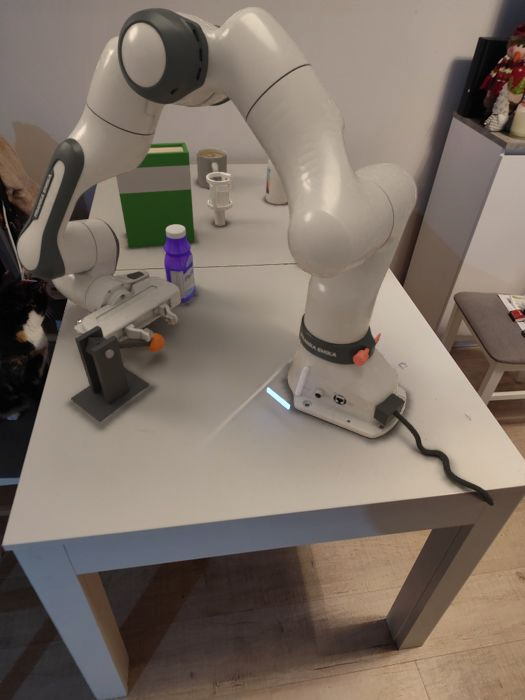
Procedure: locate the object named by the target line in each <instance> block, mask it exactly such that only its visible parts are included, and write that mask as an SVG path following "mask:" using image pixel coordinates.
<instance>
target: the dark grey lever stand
mask: <svg viewBox="0 0 525 700" xmlns="http://www.w3.org/2000/svg"><path fill="white" fill-rule="evenodd" d="M89 337H104V336H103V332H102V329H101V327H99V326H96V327H94V328H92V329H91V330H89V331H87V332H85V333H84V334H82V335H80V334H79V335H78V336H77V337H75V338H74V340H75V344H76V346H77V350H78V353H79V357H80V360H81V362H82V365H83V369H84V371H85V375H86V377H87V381H88V384H89V385H88V386H86V388H83V390H81V391H79V392H78V393H76V394H75V395H73V396H72V397H70V400H71V401H72V402H73V403H75V404H76V405H77V406H78V407H80V408H81V409H82V410H84V411H85V412H86V413H88V414H89V415H90V416H92V417H93V418H94V419H95V420H97V421H98V422H99V423H100V422H102V421H103V420H105V419H106V418H107V417H108V416H110V415H112V414H113V413H114V412H115V411H117V410H118V409H119V408H121V407H122V406H123V405H125V404H126V403H127V402H129V401H130V400H131V399H133V398H135V397H136V396H137V395H138V394H139V393H141V392H142V391H143V390H145V389H146V388H147V387H149V386H150V383H148V382H147V381H145V380H143V379H142V378H141V377H139V376H137V375H136V374H134V372H132V371H130V370H129V369H127V368H126V367H125V366H124V364H125V363H124V361H123V356H122V352H121V349H120V347H119V343H118V339H117V337H115V336H112V337H110V338H108V339H107V340H105V341H104V342H102V343H100V344H99V345H97V346H95V347H94V348H92V349H91V352H92V355H93V356H92V355H91V354H89V353H88V352H86V351H85V350H86V347H87V343H88V339H89Z"/></svg>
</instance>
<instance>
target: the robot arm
mask: <svg viewBox="0 0 525 700" xmlns="http://www.w3.org/2000/svg"><path fill="white" fill-rule="evenodd" d="M87 92H88V93H87V97H86V102H85V104H84V105H85V106H84V109H83V112H82V114H81V117H80V118H79V120H78V122H77V123H76V125H75V126H74V129H73V130H72V131H71V133H70V134H69V135H68V136H67V137H66V138H65V139H64V140H62V142H60V143H59V144H58V145H57V147H56V148H55V149H54V151H53V154H52V156H51V158H50V161H49V163H48V165H47V168H46V171H45V174H44V176H43V179H42V182H41V184H40V186H39V187H40V188H39V190H38V193H37V196H36V199H35V202H34V204H33V207H32V210H31V213H30V215H29V217H28V219H27V221H26V223H25V224H24V226H23V228H22V229H21V230H20V233H19V235H18V237H17V240H16V244H15V245H16V254H17V255H16V256H17V258H18V261H19V263H20V265H21V266H22V268H23V269H24V270H25V271H26V272H28V273H29V274H31V275H32V276H34V277H36V278H38V279H40V280H43V282H44V281H45V282H50V281H51V282H52V284H53V286H54V287H55V288H56V290H57V291H58V292H59V293H60V294H61V295H62V296H64V297H65V298H66V299H68V300H69V301H70V302H71V303H74V304H75V305H77V306H78V307H80V308H85V309H86V310H87V311H88V314H86V315H85V316H83V317H81V318H79V319H78V320H76V322H75V324H74V326H73V330H74V331H75V332H76V333H77V334H79V336H80V335H82V334H84V333H85V332H87V331H89V330H91V329H92V328H94V327H96V326H99V327H101V329H102V332H103V336H104V338H105V339H108V338H110V337H112V336H115V337H117V339H118V341H126V340H127V339H131V340H145V341H146V342H149V341H150V340H152V339H153V338H154V336H153V335H154V333H155V332H154V331H153V330H151V329H150V328H148V327H146V326H149V325H150V324H151V323H153V322H154V321H156V320H158V319H159V318H161V317H164V318H165V323H166V324H167V325H169V326H174V325H175V324H177V323H178V322H179V320H178V315H177V314H175V313H173V312H172V310H173V309H175V308H176V307H178V306H180V304H181V303H182V302H181V294H180V290H179V288H178V286H176V285H174V284H173V283H171V282H169V281H167V280H166V279H164V278H161V277H159V276H150V273H149V272H148V271H147V270H144V269H143V270H137V271H134V272H130V273H126V274H118V275H114V274H115V273H116V270H117V266H118V262H119V258H120V252H121V251H120V248H121V247H120V241H119V238H118V235H117V234H116V232H115V231H114V230H113V228H112V227H111V226H110V224H108V223H107V222H106V221H104V220H103V219H101V218H97V217H96V218H87V219H77V220H71V217H72V215H73V212H74V210H75V207H76V204H77V202H78V200H79V199H80V197H81V196H82V195H83V194H84V193H85V192H86V191H87V190H89V189H90V188H92V187H94V186H96V185H98V184H100V183H102V182H104V181H107V180H109V179H112V178H116V176H118V175H122V174H125V173H127V172H130V171H132V170H133V169H135V168H137V167H138V166H139V165H140V164H141V163H142V161H143V160H144V158H145V157H146V155H147V153H148V151H149V149H150V147H151V144H153V141H154V138H155V134H156V130H157V128H158V124H159V120H160V117H161V115H162V113H163V112H162V111H163V110H164V108H165V107H166V106H167V105H174V106H182V107H186V108H201V107H215V106H216V107H217V106H221V105H223V104H226V103H229V102H230V101H231V102H232V104H233V105H234V106H235V108H236V109H237V110H238V112H239V113H240V116H241V117H242V118H243V120H244V122H245V123H246V124H247V126H248V127H249V129H250V130H251V132H252V134H253V135H254V137H255V138H256V140H257V141H258V143H259V144H260V146H261V148H262V149H263V151H264V153H265V154H266V156H267V157H268V160H269V159H270V160H271V162H272V164H273V165H274V167H275V169H276V171H277V173H278V175H279V178H280V180H281V183H282V185H283V188H284V191H285V195H286V198H287V203H286V204H287V207H288V213H289V223H288V228H287V235H286V236H287V237H286V238H287V239H286V240H287V245H288V250H289V252H290V254H291V257H292V259H293V260H294V261H295V263H296V264H297V265H298V267H299V268H300V269H301V270H303V271H304V272H305V273H307V274H308V275H310V278H309V281H308V286H307V294H306V302H305V308H304V313H303V314H302V316H301V319H300V326H299V333H298V338H299V343H298V348H297V351H296V354H295V357H294V360H293V362H292V364H291V365H290V367H289V369H288V372H287V376H286V377H287V384H288V386H289V388H290V391H291V393H292V395H293V405H294V408H295V409H296V410H298V411H300V412H302V413H305V414H307V415H311V416H313V417H316V418H318V419H320V420H323V421H325V422H328V423H331V424H333V425H336V426H338V427H340V428H343V429H345V430H347V431H351V432H353V433H356V434H358V435H361V436H363V437H366V438H369V439H376V438H379V437H381V436H384V435H385V434H387V433H388V432H389V431H391V430H392V429H393V428H394V427H395V426H396V425H397V423H398V422H400V423H401V424H402V425H403V426H404V427H406V429H407V430H408V431H409V433H411V435H412V436H413V438H414V440H415V445H416V447H417V449H418V451H419V452H420V453H422V454H423V455H425V456H437V457H439V458H441V460H442V462H443V470H444V472H445V474H446V475H447V476H448V477H449V478H450V479H451V480H452V481H454V482H455V483H456V484H458V485H460V486H462V487H465V488H468V489H470V490H472V491H474V492H476V493H478V494H479V495H481V497H483V499H484V500H485V502H486V504H488V505H489V506H491V507H493V506H494V504H495V502H494V500H493V498H492V497H491V495H490V494H489V493H488V492H487V490H485V489H484V488H483V487H481V486H479V485H477V484H476V483H473V482H470V481H468V480H465V479H463V478H462V477H460V476H458V475H457V474H455V473H454V472H453V471H452V469H451V464H450V459H449V457H448V455H447V454H446V453H445V452H443V451H442V450H440V449H439V450H438V449H428V448H426V447H425V446H424V445H423V443H422V437H421V436H420V434H419V432H418V431H417V429H416V428H415V426H414V425H413V424H411V423H410V422H409V420H408V419H406V418H405V417H404V416H403V414H404V411H405V408H406V404H407V392H406V389H404V388H403V387H402V386H401V385H399V377H398V373H397V371H396V369H395V367H393V366H392V364H391V363H390V362H389V361H388V360H387V358H385V356H384V354H383V353H382V352H381V351H379V350H378V348H377V347H376V345H377V344H378V342H379V341H380V338H381V335H382V333H381V332H379V333H378V334H377V335H376V336H375V338H374V335H373V334H372V329H371V325H370V323H371V320H372V317H373V314H374V309H375V306H376V302H377V298H378V295H379V292H380V289H381V287H382V285H383V282H384V281H385V278H386V275H387V274H388V271H389V269H390V266H391V264H392V262H393V259H394V257H395V254H396V252H397V250H398V247H399V244H400V242H401V239H402V236H403V235H404V234H403V233H404V232H405V229H406V226H407V224H408V222H409V220H410V217H411V215H412V213H413V211H414V209H415V207H416V205H417V200H418V188H417V187H418V186H417V183H416V181H415V178H414V177H413V175H412V174H411V172H409V170H407V169H406V168H405V167H404V166H402V165H399V164H397V163H394V162H381V163H373V164H368V165H365V166H363V167H361V168H358V169H357V170H356V171H355V170H354V168H353V165H352V163H351V160H350V157H349V155H348V151H347V147H346V144H345V135H344V133H345V127H346V126H345V123H346V122H345V117H344V115H343V113H342V111H341V110H340V109H339V107H338V105H337V104H336V102H335V100H334V99H333V97H332V96H331V94H330V93H329V90H328V89H327V88H326V86H325V85H324V83H323V81H322V80H321V78H320V77H319V75H318V74H317V72H316V70H315V69H314V67H313V66H312V64H311V62H310V61H309V60H308V58H307V56H306V55H305V54H304V52H303V51H302V50H301V48H300V47H299V45H298V44H297V42H296V41H295V40H294V39H293V37H292V36H291V35H290V34H289V32H287V30H286V29H285V28H284V27H283V26H282V24H280V22H279V21H278V20H276V18H275V17H274V16H273V15H272V14H271V13H270V12H268V10H266V9H265V8H261V7H259V6H249V7H244V8H242V9H240V10H237V11H236V12H234V13H233V14H232V15H231V16H230V17H228V18H227V19H226V20H225V22H223V24H222V25H217V24H213V23H210V22H209V21H207V20H205V19H202V18H200V17H198V16H196V15H193V14H189V13H185V12H179V11H173V10H170V9H167V8H162V7H149V8H145V9H140V10H138V11H136V12H134V13H132V14H131V15H130V16H129V17H128V18H127V19H126V20H125V22H124V23H123V25H122V27H121V28H120V31H119V34H118V35H117V36H113V37H112V38H111V39H110V40H108V41H107V43H106V44H105V45H104V48H103V50H102V52H101V54H100V57H99V59H98V62H97V64H96V67H95V69H94V72H93V75H92V79H91V81H90V85H89V89H88V91H87ZM143 328H144V329H143ZM266 393H268V394H269V395H270V396H271V397H272V398H274V399H275V400H276V401H277V402H278V403H280V404H281V405H282V406H283V407H284V408H286V409H287V410H290V407H291V405H290V403H288V402H287V401H286V400H285V399H284V398H282V397H281V396H280V395H278V394H277V393H276V392H275V391H273V390H272V389H271V388H270V387H267V388H266Z"/></svg>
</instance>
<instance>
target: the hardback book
mask: <svg viewBox="0 0 525 700" xmlns="http://www.w3.org/2000/svg"><path fill="white" fill-rule="evenodd" d="M115 179H116V183H117V188H118V194H119V199H120V205H121V212H122V217H123V222H124V227H125V235H126V239H127V244H128V249H136V248H137V249H138V248H148V247H149V248H150V247H161V246H165V244H166V228H167V227H168V226H170V225H175V224H178V225H182V226H184V227H185V230H186V238H187V241H188V242H189V244H195V225H194V224H195V223H194V210H193V197H192V195H193V194H192V193H193V192H192V181H191V165H190V152H189V149H188V147H187V144H186V142H164V143H162V142H160V143H152V144H151V147H150V149H149V151H148V153H147V155H146V157H145V158H144V160H143V161H142V163H141V164H140V165H139V166H138V167H137V168H135V169H133V170H132V171H130V172H127V173H125V174H122V175H118V176H115Z"/></svg>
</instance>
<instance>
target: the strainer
mask: <svg viewBox="0 0 525 700" xmlns="http://www.w3.org/2000/svg"><path fill="white" fill-rule="evenodd" d="M212 177H222V181H213V180H211V179H210V178H212ZM226 178H227V180H226ZM206 181H207V183H209V184H210V186H209V188H208V190H209V199H207V202H206V204H207V205H206V206H207V208H208V209H210V210H211V211H214V225H215V226H218V227H222V226H225V225H226V211H228V210H230V209H232V208H233V201H232V199H231V198H230V189H231V188H232V186H233V185H232V183H233V175H232V174H231V173H228V172H227V173H224V172H213V173H210V174H208V175H207V176H206Z"/></svg>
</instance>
